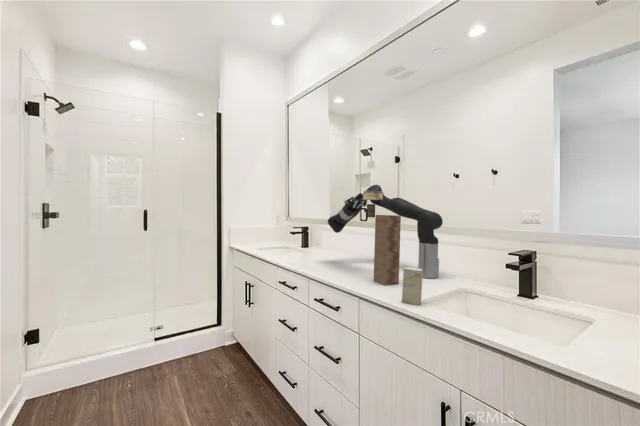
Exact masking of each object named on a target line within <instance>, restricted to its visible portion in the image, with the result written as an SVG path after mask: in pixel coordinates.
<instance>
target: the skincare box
mask: <svg viewBox="0 0 640 426" xmlns="http://www.w3.org/2000/svg"><path fill="white" fill-rule="evenodd" d="M402 273H403V274H402V290H401V291H402V293H401V295H402V296H401V303H405V304H411V305H416V306H420V305H421V303H422V293H423V292H422V289H423V278H422V275H423V269H418V267H416V268H415V267H408V266H406V267H404V268H403V272H402Z"/></svg>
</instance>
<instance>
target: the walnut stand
mask: <svg viewBox="0 0 640 426" xmlns="http://www.w3.org/2000/svg"><path fill="white" fill-rule="evenodd" d="M401 217H402V216H400V215H397V214H396V215H391V214H390V215H389V214H375V223H374V224H375V225H374V226H375V227H374V251H373V252H374V253H373V254H374V255H373V258H374V259H373V261H374V262H373V282H374V283H376V284H380V285H382V286H385V287H386V286H393V285H399V284H400V253H401V252H400V251H401V225H402V224H401V220H402V218H401Z"/></svg>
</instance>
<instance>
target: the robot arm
mask: <svg viewBox="0 0 640 426" xmlns="http://www.w3.org/2000/svg"><path fill="white" fill-rule="evenodd" d="M365 191H382V194H383V200H369V201H370V202H371V203H372V204H373V205H375V206H378V207H382V208H384V209H385V210H388V211H390V212H392V213H394V214H396V215H397V216H401V217H403V218H406V219H411V220H414V221H417V222H416V223H417V225H416V227H417V231H416V232H417V238H418V267H417V269H423V275H422V279H437V278H439V275H440V273H439V272H440V258H439V238H438V237H437V236H435V234H434V231H435V230H438V229H439V228H441V226H443V221H444V220H443V217H442V216H441V215H440V214H439V213H437V212H435V211H431V210H428V209H425V208H422V207H420V206H419V205H416V204H415V203H412V202H410V201H408V200H406V199H404V198H402V197H394V198H390V197H387V196H386V195H385V194H384V192H383V188H382V187H381V186H380V185H379V184H373V185H371V186H369V187H368V188H367V189H365ZM363 194H364V192H362V193H361V192H359V193H357V196H351V197H350V198H348V199H346V200H345V201H344V205H343V206H342V208H341V209H340V210H339V211H338V212H337V213H336V214H335V215H332V216H330V217H329V218H327V224H328V225H329V227H330V228H331V229H332V231H333V232H335V233H337V234H338V233H341V232H342V231H343V230H344V228H345V226H346V225H347V224H348V223H349V222H350V221H352V220H353V219H354V218H355V217H357V216H358V214H360V212H361V210H362V208H363V207H364V208H365V207H366V206H367V203H368V200H359V199H360V198H361V197H362V195H363Z"/></svg>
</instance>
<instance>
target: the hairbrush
mask: <svg viewBox="0 0 640 426" xmlns="http://www.w3.org/2000/svg"><path fill="white" fill-rule="evenodd" d="M382 192H383V190H382V191H366V190H364V191H363V193H364V194H363V193H362V194H363V195H362V197H361V198H360V199H359V200H367V201H370V200H383V194H384V193H383V194H382ZM355 195H356V194H355ZM357 195H358V194H357ZM357 195H356V196H357ZM356 196H355V197H356Z"/></svg>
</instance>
